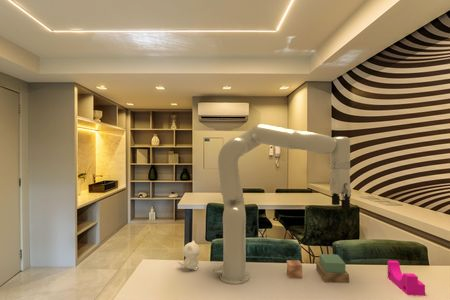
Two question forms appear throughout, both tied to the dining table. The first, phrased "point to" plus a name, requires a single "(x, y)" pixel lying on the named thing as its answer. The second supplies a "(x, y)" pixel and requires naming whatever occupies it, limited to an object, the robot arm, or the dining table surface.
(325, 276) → the tower base
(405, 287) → the magenta curved bracket
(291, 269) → the terracotta cube
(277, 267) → the dining table surface
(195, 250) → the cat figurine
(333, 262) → the tower top
